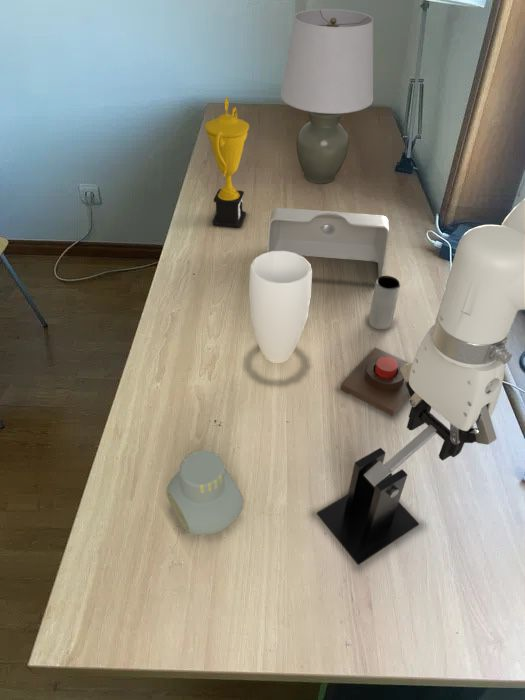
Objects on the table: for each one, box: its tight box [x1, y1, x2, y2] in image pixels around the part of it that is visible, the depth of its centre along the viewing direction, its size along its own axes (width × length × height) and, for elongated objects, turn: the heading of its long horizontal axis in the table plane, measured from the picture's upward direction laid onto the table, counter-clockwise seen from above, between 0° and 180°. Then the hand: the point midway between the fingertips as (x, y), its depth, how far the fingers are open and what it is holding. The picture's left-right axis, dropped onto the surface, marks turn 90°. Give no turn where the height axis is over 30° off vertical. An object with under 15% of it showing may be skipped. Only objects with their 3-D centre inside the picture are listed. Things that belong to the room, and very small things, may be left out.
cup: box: [248, 251, 313, 364], centre depth 95 cm, size 10×10×22 cm
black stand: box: [316, 447, 420, 566], centre depth 75 cm, size 11×9×13 cm
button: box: [375, 357, 398, 379], centre depth 96 cm, size 4×4×2 cm
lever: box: [364, 410, 450, 489], centre depth 72 cm, size 12×5×2 cm, turn 123°
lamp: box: [279, 8, 374, 185], centre depth 147 cm, size 24×24×40 cm
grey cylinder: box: [368, 275, 401, 330], centre depth 108 cm, size 4×4×10 cm
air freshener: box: [165, 449, 244, 536], centre depth 77 cm, size 11×8×10 cm
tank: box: [266, 207, 390, 278], centre depth 123 cm, size 25×16×12 cm, turn 83°
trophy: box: [204, 96, 250, 229], centre depth 130 cm, size 19×10×30 cm, turn 170°
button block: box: [340, 347, 410, 417], centre depth 98 cm, size 12×10×4 cm
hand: (432, 438), depth 74 cm, fingers closed on lever, 5 cm apart
